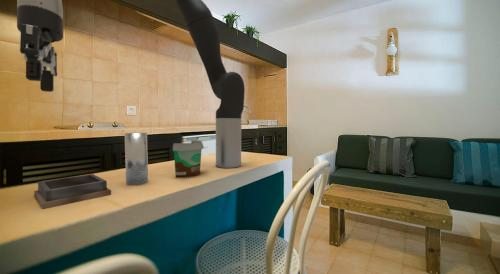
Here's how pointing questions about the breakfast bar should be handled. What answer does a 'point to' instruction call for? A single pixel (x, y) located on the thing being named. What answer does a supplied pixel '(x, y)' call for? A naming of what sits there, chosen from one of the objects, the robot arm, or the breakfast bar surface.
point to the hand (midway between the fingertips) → (41, 86)
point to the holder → (70, 190)
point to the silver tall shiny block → (136, 158)
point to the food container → (187, 158)
